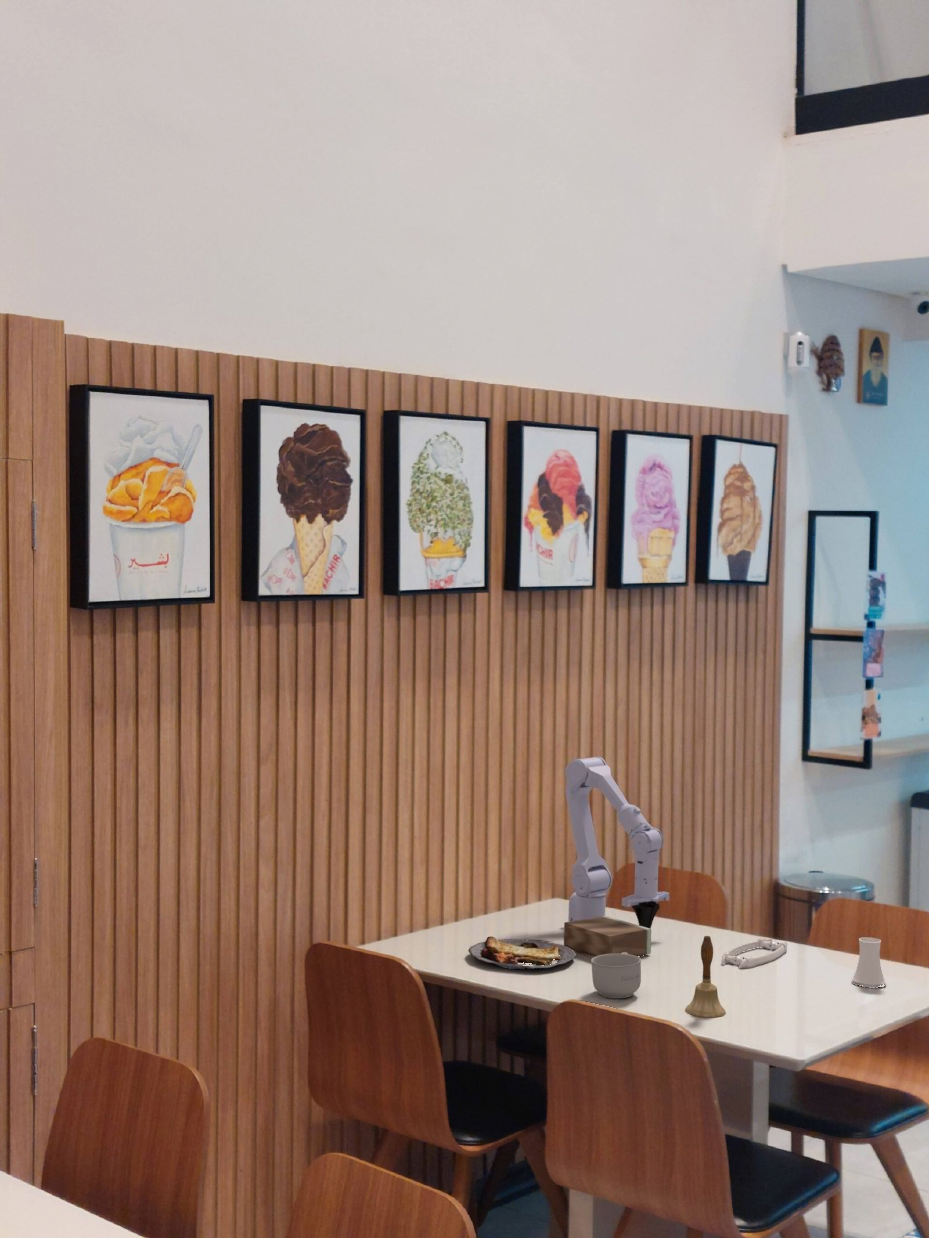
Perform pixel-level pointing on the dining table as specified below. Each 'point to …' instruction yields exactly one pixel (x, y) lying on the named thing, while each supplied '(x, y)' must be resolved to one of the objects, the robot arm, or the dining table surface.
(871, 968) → the cooling tower model
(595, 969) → the teacup
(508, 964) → the food plate
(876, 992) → the dining table surface
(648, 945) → the cabinet door
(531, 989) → the dining table surface
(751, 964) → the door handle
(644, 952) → the brown wooden block
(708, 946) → the hand bell
